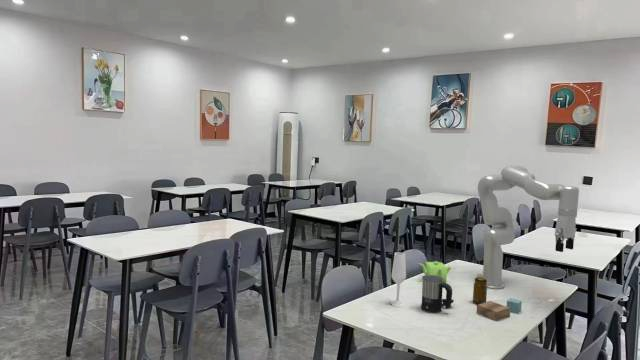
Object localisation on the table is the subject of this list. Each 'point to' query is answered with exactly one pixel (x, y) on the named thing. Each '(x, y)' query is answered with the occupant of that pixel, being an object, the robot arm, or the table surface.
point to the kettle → (436, 269)
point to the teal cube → (514, 305)
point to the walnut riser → (493, 310)
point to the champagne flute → (398, 274)
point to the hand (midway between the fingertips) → (564, 250)
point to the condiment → (479, 291)
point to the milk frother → (435, 294)
